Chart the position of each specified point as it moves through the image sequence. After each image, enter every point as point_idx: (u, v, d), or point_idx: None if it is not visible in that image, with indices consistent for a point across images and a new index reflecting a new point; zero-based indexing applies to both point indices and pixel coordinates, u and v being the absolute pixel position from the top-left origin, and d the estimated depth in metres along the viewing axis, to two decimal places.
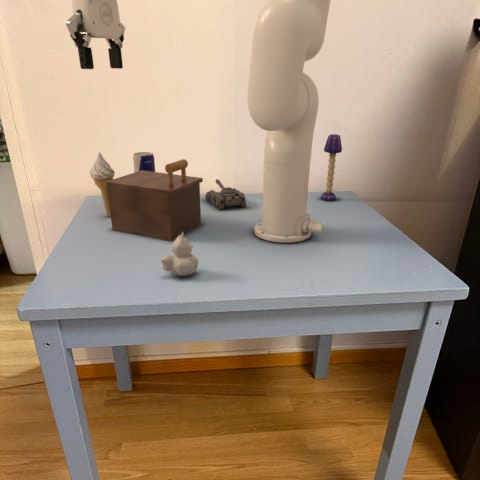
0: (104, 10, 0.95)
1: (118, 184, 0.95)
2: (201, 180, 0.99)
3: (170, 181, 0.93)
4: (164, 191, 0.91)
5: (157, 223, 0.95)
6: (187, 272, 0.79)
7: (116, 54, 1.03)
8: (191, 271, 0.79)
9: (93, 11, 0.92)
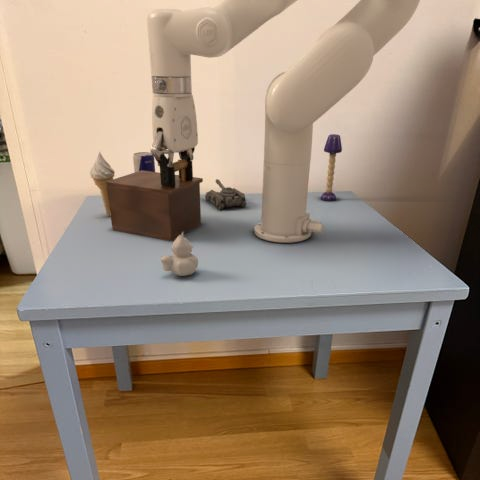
0: (184, 124, 0.89)
1: (118, 184, 0.95)
2: (201, 180, 1.00)
3: None
4: (164, 191, 0.91)
5: (157, 223, 0.95)
6: (187, 272, 0.79)
7: (187, 167, 0.96)
8: (191, 271, 0.79)
9: (175, 129, 0.86)
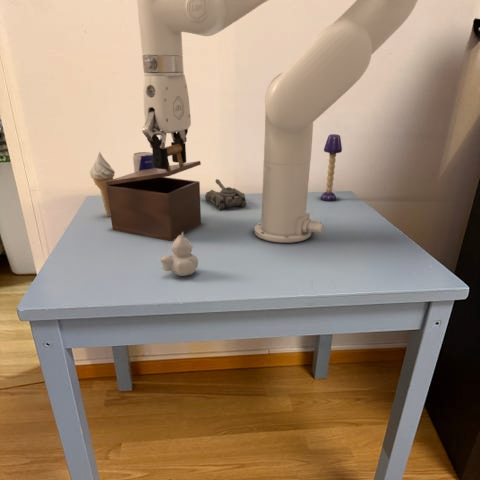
0: (177, 105, 0.87)
1: (117, 180, 0.94)
2: (199, 163, 0.98)
3: None
4: (161, 174, 0.89)
5: (157, 223, 0.95)
6: (187, 272, 0.79)
7: None
8: (191, 271, 0.79)
9: (167, 108, 0.85)
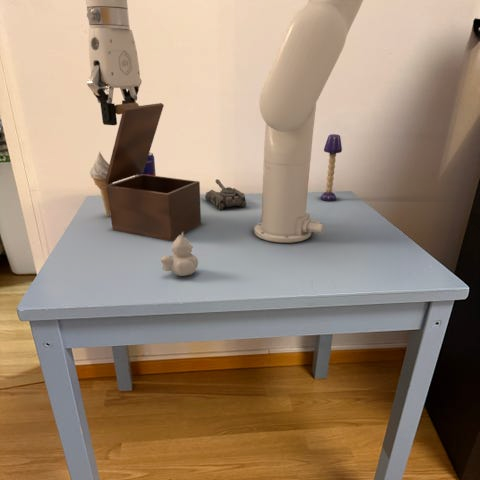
0: (123, 59, 0.88)
1: (108, 169, 0.94)
2: (161, 104, 0.95)
3: None
4: (122, 116, 0.87)
5: (157, 223, 0.95)
6: (187, 272, 0.79)
7: None
8: (191, 271, 0.79)
9: (112, 62, 0.86)
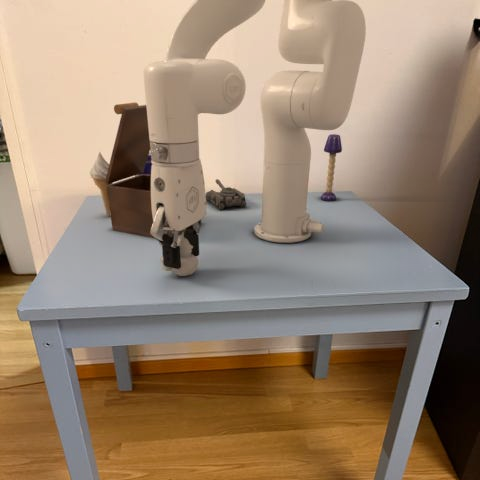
0: (191, 196, 0.72)
1: (108, 169, 0.94)
2: None
3: None
4: (122, 116, 0.87)
5: None
6: (187, 272, 0.79)
7: (192, 241, 0.80)
8: (191, 271, 0.79)
9: (179, 204, 0.70)
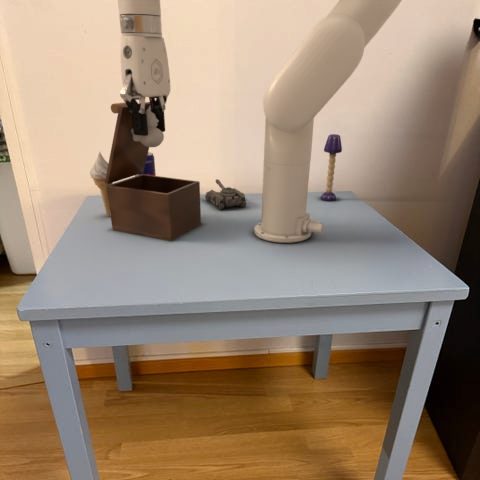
0: (155, 68, 0.86)
1: (108, 168, 0.94)
2: None
3: None
4: (119, 114, 0.87)
5: (157, 223, 0.95)
6: (153, 142, 0.92)
7: (158, 117, 0.93)
8: (157, 142, 0.93)
9: (144, 70, 0.83)
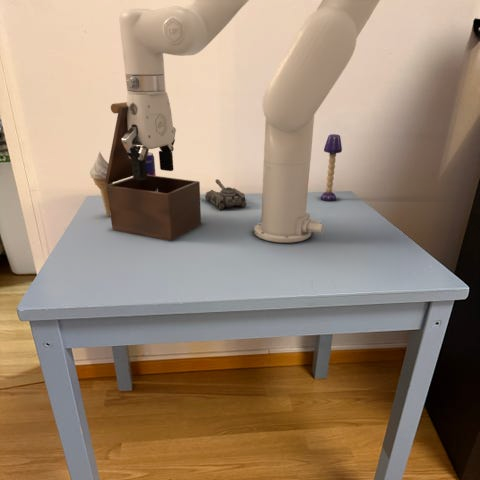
0: (159, 121, 0.91)
1: (108, 168, 0.94)
2: None
3: None
4: (119, 114, 0.87)
5: (157, 223, 0.95)
6: None
7: (167, 158, 0.99)
8: None
9: (149, 125, 0.88)
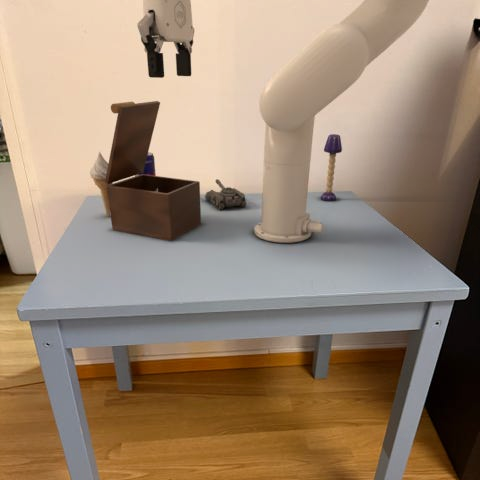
0: (178, 10, 0.82)
1: (108, 168, 0.94)
2: (157, 101, 0.96)
3: None
4: (119, 114, 0.87)
5: (157, 223, 0.95)
6: None
7: (185, 60, 0.91)
8: None
9: (168, 11, 0.80)
